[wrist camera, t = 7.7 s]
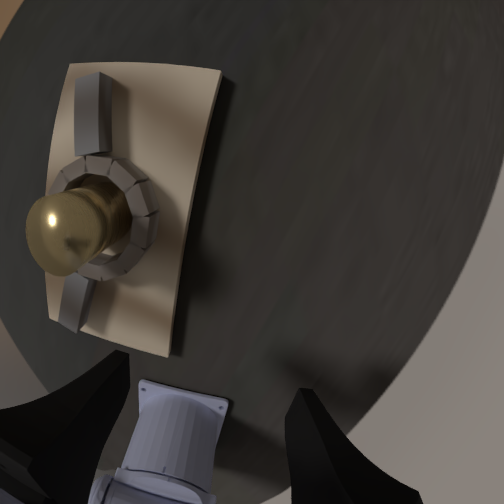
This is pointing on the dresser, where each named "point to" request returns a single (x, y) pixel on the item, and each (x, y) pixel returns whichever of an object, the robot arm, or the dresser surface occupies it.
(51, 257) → the cylinder
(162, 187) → the coupling plate
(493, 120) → the dresser surface
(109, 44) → the dresser surface
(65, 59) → the dresser surface
